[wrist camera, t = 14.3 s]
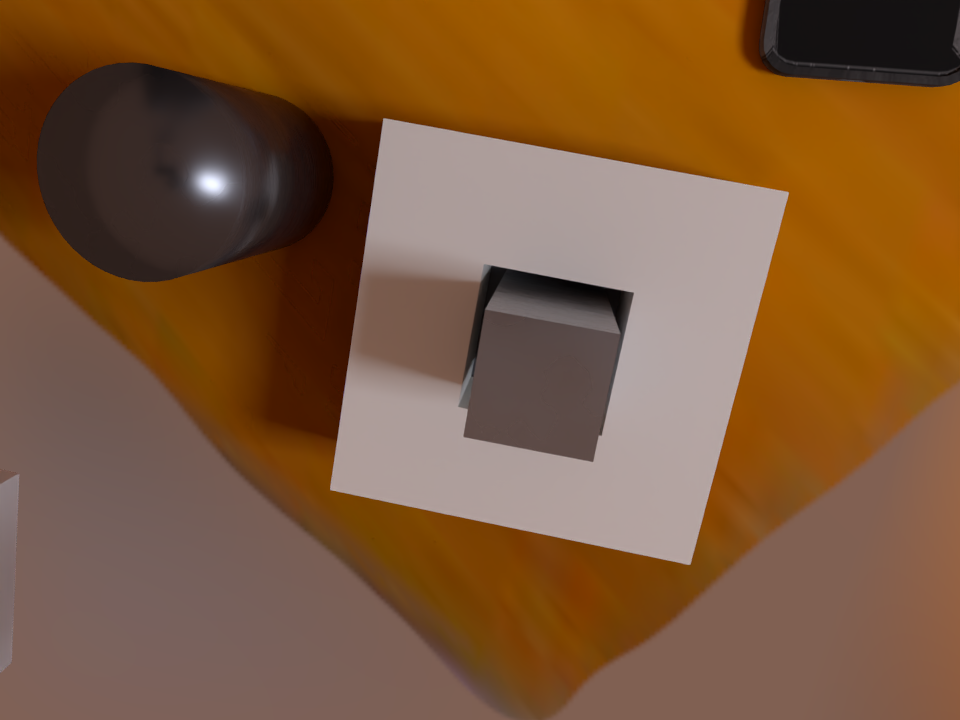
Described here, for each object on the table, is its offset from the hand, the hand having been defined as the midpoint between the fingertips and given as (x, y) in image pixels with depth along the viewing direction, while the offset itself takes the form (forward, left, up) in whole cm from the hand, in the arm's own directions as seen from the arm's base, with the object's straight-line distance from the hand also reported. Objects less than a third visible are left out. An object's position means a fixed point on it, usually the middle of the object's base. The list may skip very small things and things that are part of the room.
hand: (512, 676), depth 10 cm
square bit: (0, 0, -25) cm, 25 cm away
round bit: (-4, -13, -25) cm, 29 cm away
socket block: (0, 0, -25) cm, 25 cm away
